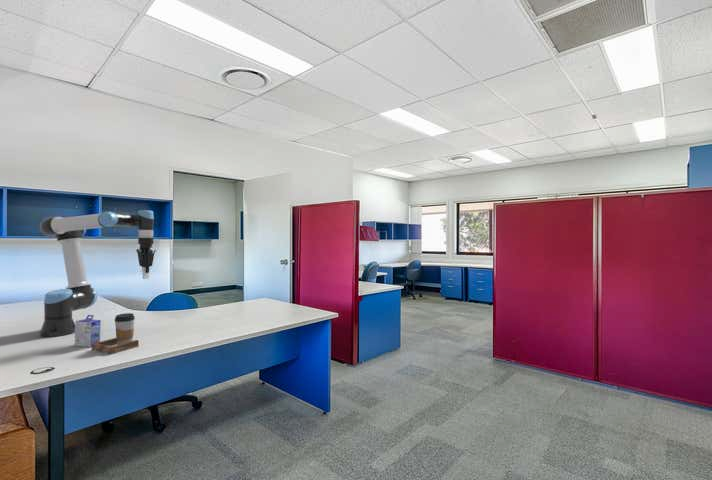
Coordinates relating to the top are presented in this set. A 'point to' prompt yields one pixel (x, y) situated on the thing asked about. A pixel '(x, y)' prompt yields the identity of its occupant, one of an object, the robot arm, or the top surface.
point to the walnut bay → (110, 349)
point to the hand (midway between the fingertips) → (145, 278)
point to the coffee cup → (124, 328)
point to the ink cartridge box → (87, 332)
